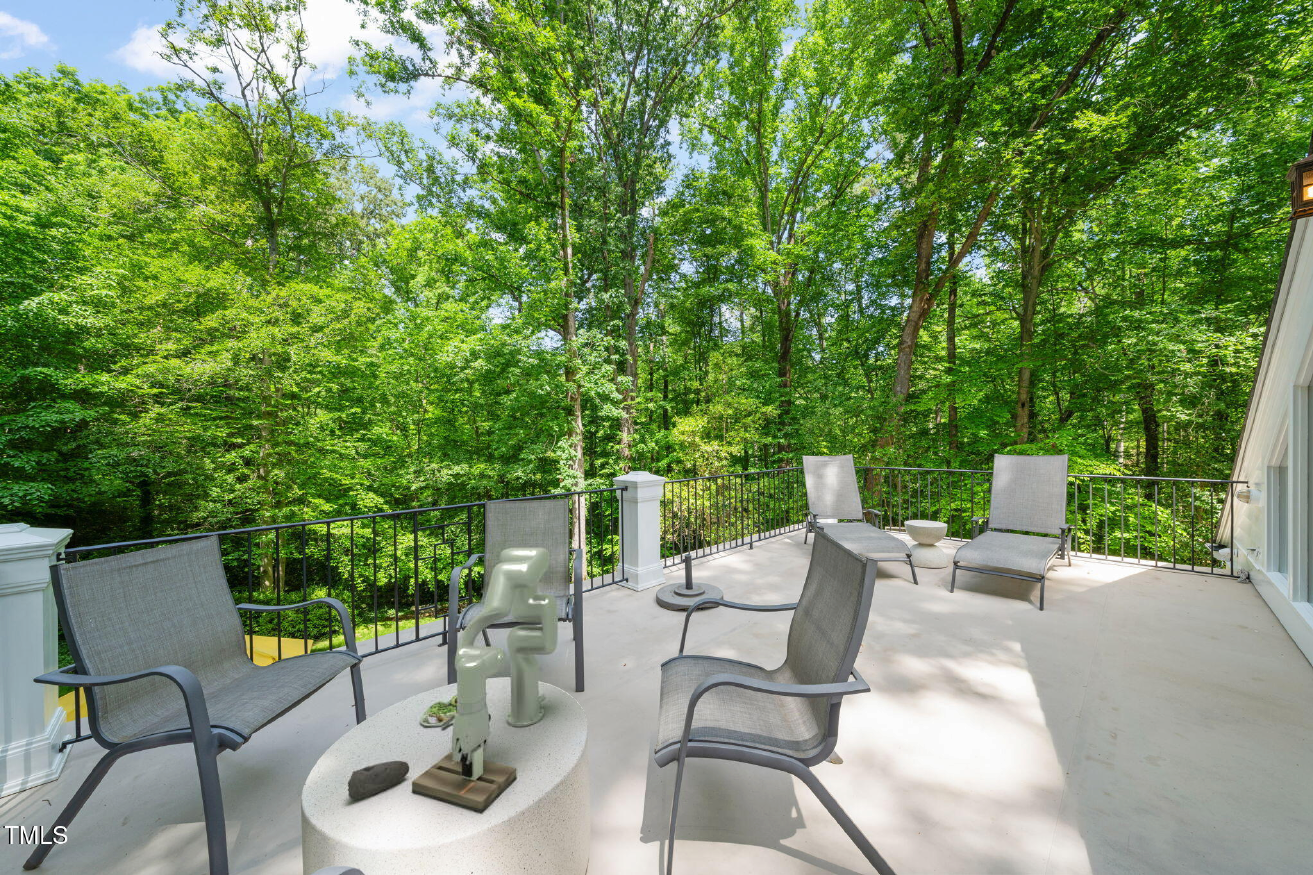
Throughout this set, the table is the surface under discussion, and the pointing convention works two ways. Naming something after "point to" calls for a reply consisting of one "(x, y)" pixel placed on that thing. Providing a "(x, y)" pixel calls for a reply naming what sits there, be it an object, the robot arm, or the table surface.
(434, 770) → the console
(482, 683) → the robot arm
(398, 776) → the perforated stone tool
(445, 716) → the salad plate
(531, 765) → the table surface
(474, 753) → the fader
